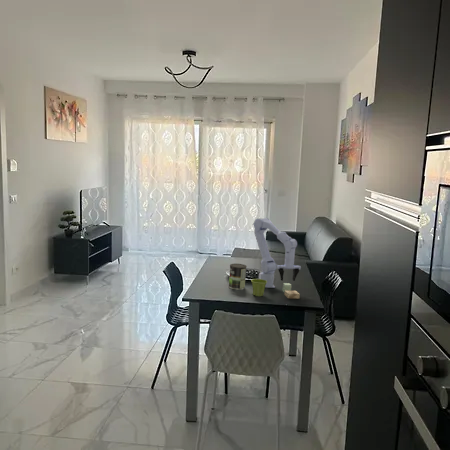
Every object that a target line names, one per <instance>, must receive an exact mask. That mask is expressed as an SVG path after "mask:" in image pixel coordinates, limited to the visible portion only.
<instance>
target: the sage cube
mask: <svg viewBox="0 0 450 450" xmlns="http://www.w3.org/2000/svg"><path fill="white" fill-rule="evenodd" d="M285 291H292V284H291V283H289V282H288V283H287V282H283V283H282V292H283V294H285Z"/></svg>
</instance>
